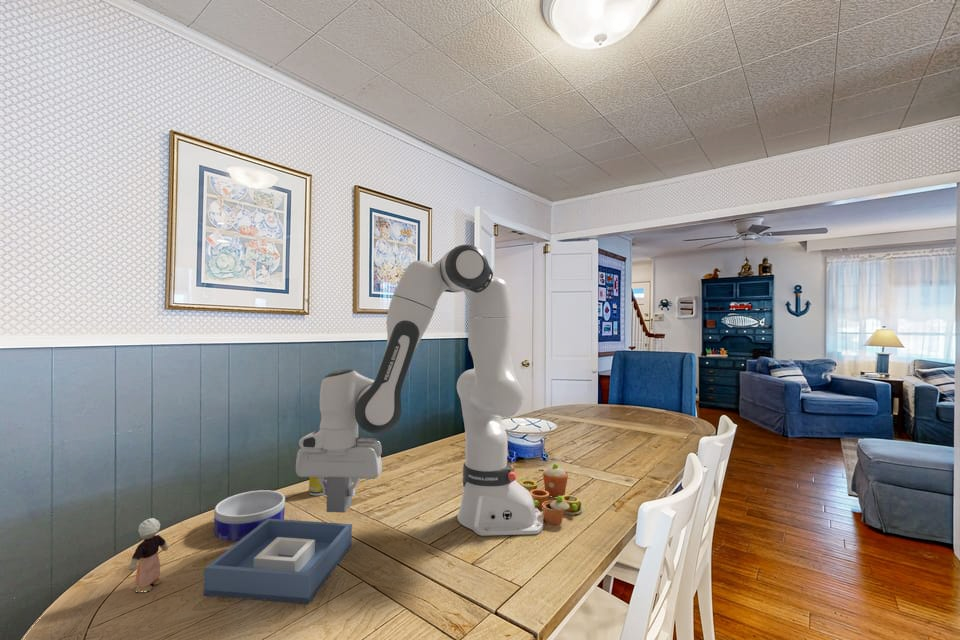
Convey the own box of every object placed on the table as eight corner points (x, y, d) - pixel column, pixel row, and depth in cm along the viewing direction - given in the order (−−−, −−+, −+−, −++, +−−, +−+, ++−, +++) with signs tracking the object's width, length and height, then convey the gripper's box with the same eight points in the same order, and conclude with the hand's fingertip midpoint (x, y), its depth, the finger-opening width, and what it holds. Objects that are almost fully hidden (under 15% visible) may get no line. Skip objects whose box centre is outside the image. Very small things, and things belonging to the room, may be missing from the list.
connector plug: (351, 504, 104) (351, 467, 104) (344, 512, 100) (344, 474, 100) (334, 503, 104) (334, 467, 104) (326, 512, 100) (326, 473, 100)
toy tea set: (512, 490, 132) (513, 459, 133) (558, 487, 136) (559, 457, 136) (543, 530, 107) (544, 491, 107) (599, 525, 110) (600, 488, 111)
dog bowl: (249, 547, 95) (250, 520, 95) (197, 535, 99) (198, 510, 99) (297, 518, 109) (298, 494, 110) (250, 509, 114) (251, 486, 114)
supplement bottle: (321, 497, 123) (322, 463, 123) (305, 495, 124) (306, 461, 124) (332, 490, 128) (333, 457, 128) (315, 488, 129) (316, 455, 129)
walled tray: (351, 546, 96) (351, 524, 96) (308, 603, 76) (309, 575, 76) (267, 540, 98) (267, 518, 98) (203, 595, 78) (204, 567, 78)
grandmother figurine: (149, 575, 83) (152, 510, 83) (170, 575, 84) (172, 510, 84) (120, 601, 76) (122, 529, 76) (142, 600, 76) (145, 529, 76)
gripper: (385, 434, 104) (385, 491, 104) (305, 433, 106) (305, 488, 106) (377, 442, 98) (377, 502, 98) (292, 440, 100) (292, 499, 100)
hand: (339, 495), depth 102 cm, fingers closed on connector plug, 4 cm apart
